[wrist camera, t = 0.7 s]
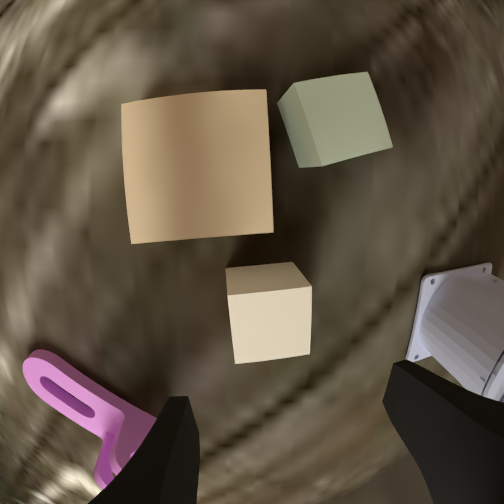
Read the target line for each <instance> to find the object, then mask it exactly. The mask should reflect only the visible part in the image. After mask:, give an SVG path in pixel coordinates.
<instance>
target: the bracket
mask: <svg viewBox="0 0 504 504" xmlns="http://www.w3.org/2000/svg"><path fill="white" fill-rule="evenodd" d="M23 373H24V376H25V379H26V381H27V383H28V384H29V386H30V387H31V389H32V390H33V391H34V392H35V393H36V394H37V395H38V396H39V397H40V398H41V399H43V400H44V401H45V402H47V403H48V404H49V405H51V406H52V407H53V408H55V409H56V410H58V411H59V412H61V413H62V414H64V415H65V416H67V417H68V418H70V419H71V420H73V421H74V422H76V423H77V424H79V425H81V426H82V427H84V428H86V429H87V430H89V431H91V432H92V433H94V434H96V435H98V436H99V437H100V438H101V439H102V441H103V444H102V447H101V450H100V453H99V456H98V459H97V462H96V466H95V469H94V477H95V480H96V482H97V484H98V485H99V487H100V488H101V489H102V490H103V489H104V488H105V487H106V486H107V485H108V484H109V483H110V482H111V481H112V480H113V479H114V477H113V476H112V472H114V473H115V475H116V476H117V474H118V473H119V472H120V471H121V470H122V469H123V467H124V466H125V465H126V464H127V462H128V461H129V460H130V458H131V457H132V456H133V454H134V453H135V452H136V450H137V449H138V447H139V446H140V445H141V443H142V442H143V440H144V438H145V437H146V435H147V434H148V432H149V431H150V429H151V428H152V426H153V424H154V423H155V421H156V419H157V418H156V417H154V416H152V415H150V414H148V413H146V412H144V411H142V410H140V409H139V408H137V407H135V406H133V405H131V404H130V403H128V402H126V401H124V400H123V399H121V398H119V397H118V396H116V395H114V394H113V393H111V392H110V391H108V390H106V389H105V388H103V387H102V386H100V385H99V384H97V383H96V382H94V381H93V380H91V379H90V378H88V377H87V376H85V375H84V374H82V373H81V372H79V371H78V370H77V369H75V368H74V367H72V366H71V365H70V364H68V363H67V362H66V361H64V360H63V359H62V358H60V357H59V356H57V355H56V354H54V353H52V352H50V351H47V350H42V349H39V350H35V351H33V352H32V353H31V354H30V355H29V357H28V358H27V359H26V360H25V361H24V363H23ZM50 379H51V380H52V381H53V382H55V383H56V384H57V385H59V386H60V387H61V388H63V389H64V390H66V391H67V392H69V393H70V394H71V395H73V396H74V397H76V398H77V399H79V400H80V401H82V402H83V403H85V404H86V405H88V406H90V407H91V408H90V407H88V406H86V405H85V404H83V403H81V402H80V401H78V400H77V399H75V398H74V397H73V396H71V395H70V394H68V393H67V392H65V391H64V390H63V389H61V388H60V387H58V386H57V385H56V384H54V383H53V382H52V381H51V380H50Z"/></svg>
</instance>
